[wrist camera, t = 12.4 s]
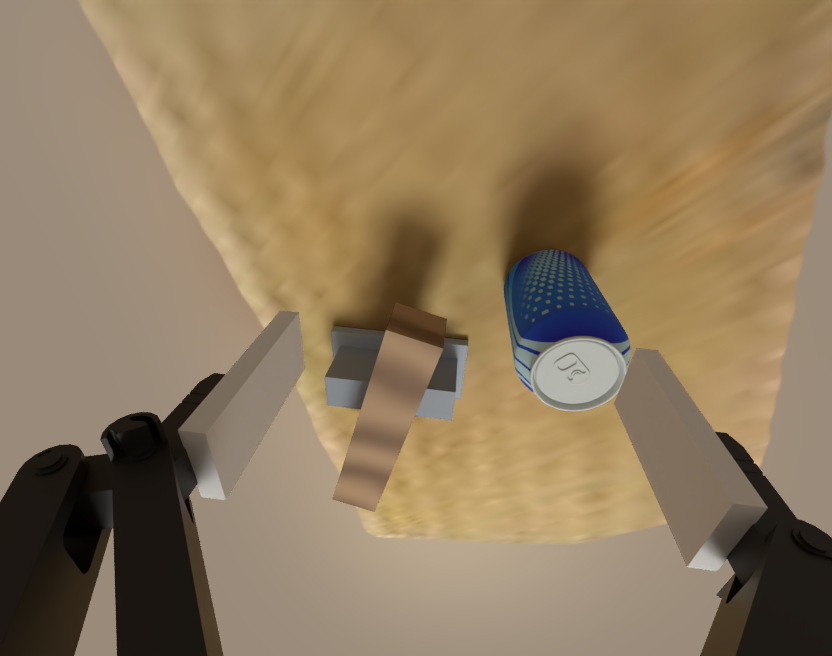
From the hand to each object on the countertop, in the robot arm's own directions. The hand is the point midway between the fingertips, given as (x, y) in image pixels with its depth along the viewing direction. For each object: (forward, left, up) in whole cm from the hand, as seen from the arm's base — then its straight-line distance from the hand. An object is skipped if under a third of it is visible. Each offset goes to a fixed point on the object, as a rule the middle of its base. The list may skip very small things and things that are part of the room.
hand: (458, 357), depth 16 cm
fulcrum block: (+20, -6, -27) cm, 34 cm away
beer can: (+8, +9, -27) cm, 29 cm away
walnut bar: (+20, -6, -20) cm, 29 cm away
